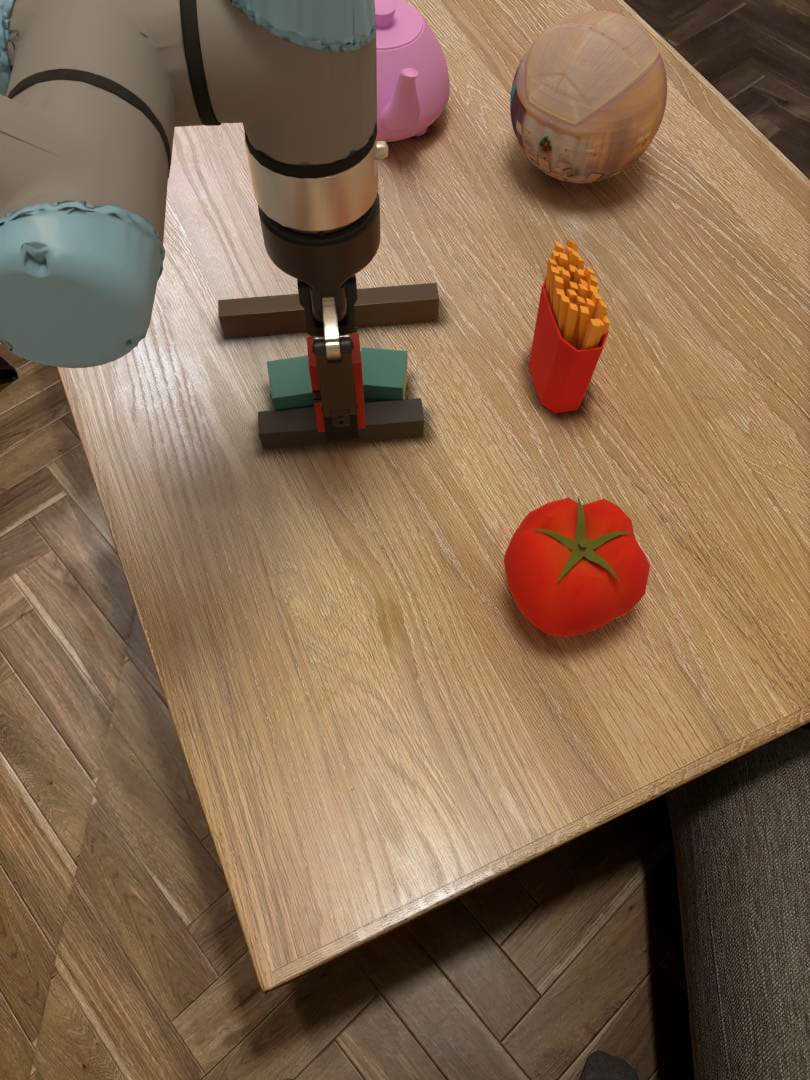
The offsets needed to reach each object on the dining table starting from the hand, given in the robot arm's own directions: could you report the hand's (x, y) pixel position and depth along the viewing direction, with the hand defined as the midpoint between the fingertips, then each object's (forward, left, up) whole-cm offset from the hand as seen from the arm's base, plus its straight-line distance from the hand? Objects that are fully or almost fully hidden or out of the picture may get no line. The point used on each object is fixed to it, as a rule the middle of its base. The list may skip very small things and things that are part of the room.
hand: (340, 418), depth 74 cm
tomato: (+22, -8, -2) cm, 24 cm away
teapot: (-10, +40, -2) cm, 41 cm away
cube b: (+2, +5, -2) cm, 6 cm away
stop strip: (-5, +11, -2) cm, 13 cm away
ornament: (+11, +40, -2) cm, 41 cm away
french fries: (+16, +12, -2) cm, 20 cm away
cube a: (-5, +2, -2) cm, 5 cm away
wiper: (0, 0, -2) cm, 2 cm away
